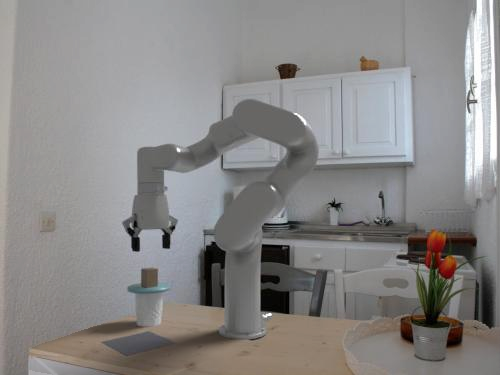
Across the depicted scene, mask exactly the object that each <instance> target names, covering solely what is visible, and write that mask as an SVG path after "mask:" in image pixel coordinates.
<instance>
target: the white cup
mask: <svg viewBox="0 0 500 375" xmlns="http://www.w3.org/2000/svg"><path fill="white" fill-rule="evenodd" d="M134 296H135V297H134V300H135V301H134V302H135V303H134V305H135V316H136V317H135V318H136V325H137V326H138V327H146V328H147V327H155V326H158V325H160V324H162V315H163V302H164V292H160V293H150V294H138V293H134Z"/></svg>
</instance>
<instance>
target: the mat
mask: <svg viewBox="0 0 500 375" xmlns="http://www.w3.org/2000/svg"><path fill="white" fill-rule="evenodd" d="M101 343H102V344H104V345H105V346H107V347H110V348H111V349H113V350H115V351H117V352H118V353H120V354H122V355H124V356H126V357H129V356H132V355H137V354H139V353H140V354H141V353H144V352H147V351H148V352H149V351H152V350H155V349H159V348H162V347H166V346H170V345H174V344H177V342H176V341H174V340H171V339H168V338H167V337H164V336H161V335H159V334H157V333H154V332H151V331H150V330H148V331H143V332H140V333H134V334H132V335H131V334H130V335H126V336H121V337H116V338H113V339H108V340H104V341H103V340H102V341H101Z"/></svg>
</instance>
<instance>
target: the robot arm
mask: <svg viewBox="0 0 500 375" xmlns="http://www.w3.org/2000/svg"><path fill="white" fill-rule="evenodd" d="M259 138H260V139H264V140H266V141H269V142H271V143H274V144H276V145H279V146H281V147H283V148H284V149H286V153H285V154H284V156H283V157H282V158H281V159H280V160H279V161H278V162H277V163H276V165H274V167H273V168H272V170H271V171H270V172H269V173H268V175H266V177H265V178H264V179H262V180H254V181H253V182H250V183H249V184H247V185H246V186H245V187H244V188H243V189H242V190H240V192H239V193H238V194H237V195H236V197H235V198H234V199H233V200H232V202H231V203H230V204H229V205H228V207H227V208H226V209H225V210H224V212H223V213H222V214H221V216H220V217H219V218H218V219H217V221H216V223H215V225H214V228H213V240H214V242H215V244H216V245H217V247H218V248H220V249H221V250H222V251H225V258H224V259H225V261H224V324H223V325H221V326H219V328H218V334H219V335H220V336H223V337H225V338H228V339H229V338H230V339H237V340H254V339H255V340H256V339H260V338H262V337H263V336H266V334H267V327H266V326H265V325H264V324H265V322H269V321H272V320H273V314H272V313H271V312H268V313H264V314H263V313H261V259H262V248H263V247H262V245H263V228H262V227H263V226H264V224H265V223H266V222H267V221H268V220H269V219H271V218H274V217H277V216H278V215H279V214H280V213H281V212H282V211H283V209H284V208H285V206H286V205H287V204H288V203H289V201H291V199H292V198H293V197H294V195H295V194H296V193H297V192H298V190H299V189H300V188H301V186H302V185H303V184H304V183H305V182H306V181H307V179H308V178H309V177H310V175H311V174H312V172H313V170H314V169H315V167H316V165H317V162H318V160H319V153H320V152H319V151H320V150H319V144H318V141H317V138H316V135H315V133H314V130H313V129H312V127H311V126H310V124H309V123H308V122H307V121H306V119H304V118H303V117H302V116H301V115H300V114H298V113H296V112H293V111H291V110H287V109H284V108H282V107H278V106H275V105H272V104H270V103H266V102H263V101H261V100H259V99H255V98H254V99H253V98H249V99H248V98H246V99H243V100H241V101H239V102H238V103H237V104H236V105H235V106H234V108H233V110H232V114H231V115H230V116H228V117H225V118H223V119H221V120H218V121H216V122H214V123H212V124H211V125H210V126H209V129H208V133H207V134H206V135H205V137H204V138H203V139H201V140H199V141H197V142H195V143H194V144H190V145H188V146H186V147H184V146H181V145H178V144H175V143H165V144H160V145H157V146H143V147H140V148H138V149H137V153H136V158H137V159H136V164H137V167H136V175H137V176H136V179H137V185H136V186H137V191H136V192H137V194H135V195H134V197H133V201H132V206H131V209H132V210H131V216H129V217H128V218H126V219H124V220H123V221H122V223H121V224H122V226H123V228H124V230H125V233H127V235H129V237H130V239H131V240H130V242H131V243H130V244H131V245H130V246H131V249H132V250H131V251H132V252H136V253H138V252H140V251H141V238H140V237H139V235H140V234H141V232H142V231H145V230H146V231H148V230H160V231H161V232H162V233H163V234H162V236H161V237H162V239H161V243H162V244H161V245H162V249H166V250H169V249H171V245H172V244H171V243H172V242H171V240H172V239H171V236H172V235H173V232H174V231H175V230H176V227H177V224H178V222H179V220H178V219H177V218H175V217H174V216H172V215H171V214H170V211H169V202H168V199H167V195H166V194H165V192H167V191H168V189H169V188H168V186H165V185H166V184H165V171H169V172H175V173H180V174H181V173H182V174H185V173H186V174H187V173H190V172H193V171H196V170H198V169H200V168H202V167H205V166H207V165H209V164H211V163H213V162H214V161H215V160H216V161H217V159H218V158H220V157H221V156H222V155H224V154H225V153H227V152H230V151H232V150H233V149H236V148H238V147H241V146H243V145H245V144H248V143H250V142H253V141H255V140H256V139H259Z"/></svg>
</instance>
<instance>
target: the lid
mask: <svg viewBox="0 0 500 375" xmlns="http://www.w3.org/2000/svg"><path fill="white" fill-rule="evenodd" d="M158 279H159V268H157V267H146V268H145V267H144V268H143V267H142V268H141V269H140V283H135V284H134V283H133V284H131V285H128V286H127V288H126V289H127V292H128V293H131V294H135V293H138V294H150V293H160V292H163V293H164V292H168V291H171V289H172V285H171V284H169V283H165V282H159V280H158Z"/></svg>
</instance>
